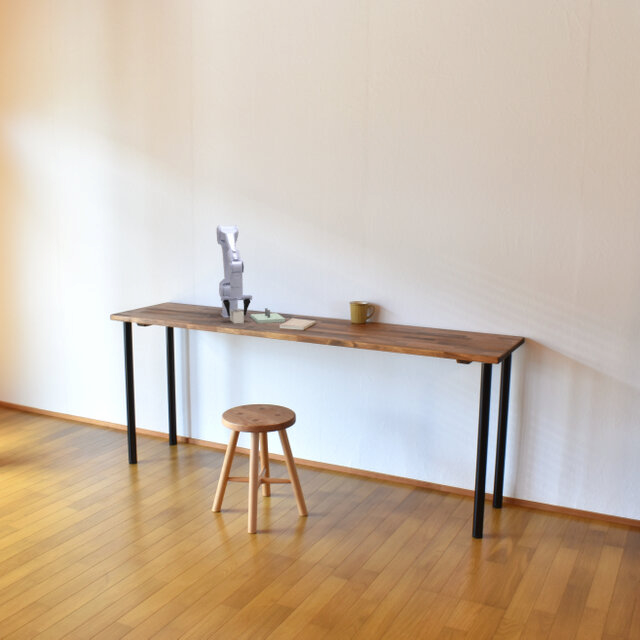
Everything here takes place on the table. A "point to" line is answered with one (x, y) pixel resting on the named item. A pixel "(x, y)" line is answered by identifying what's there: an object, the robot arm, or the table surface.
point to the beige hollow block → (237, 316)
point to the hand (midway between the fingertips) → (236, 315)
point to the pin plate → (267, 317)
